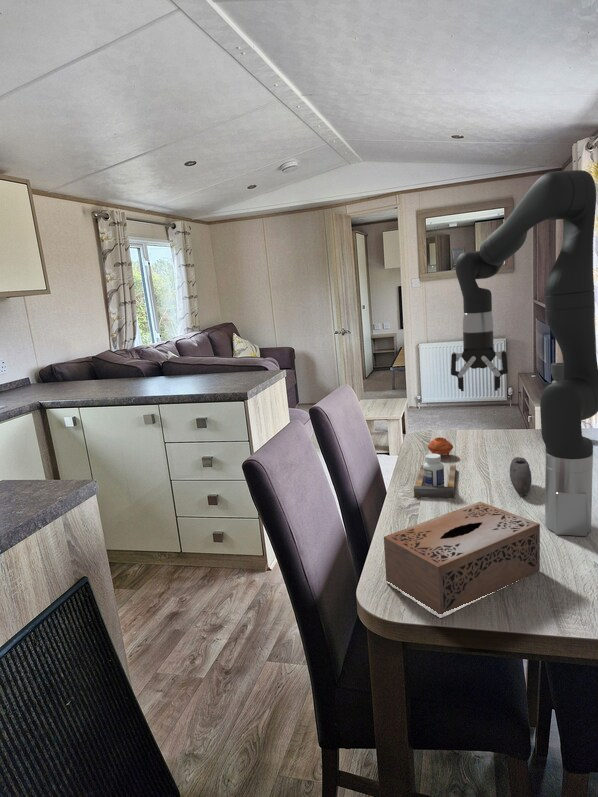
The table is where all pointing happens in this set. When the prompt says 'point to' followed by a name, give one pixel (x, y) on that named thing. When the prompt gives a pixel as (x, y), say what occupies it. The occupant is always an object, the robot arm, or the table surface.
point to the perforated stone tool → (520, 476)
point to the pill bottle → (433, 471)
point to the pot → (440, 446)
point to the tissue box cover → (462, 555)
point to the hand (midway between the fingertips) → (479, 390)
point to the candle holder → (557, 372)
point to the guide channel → (435, 490)
